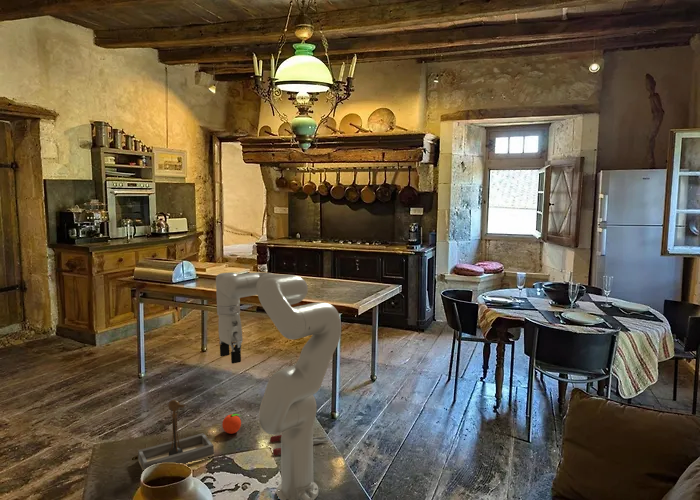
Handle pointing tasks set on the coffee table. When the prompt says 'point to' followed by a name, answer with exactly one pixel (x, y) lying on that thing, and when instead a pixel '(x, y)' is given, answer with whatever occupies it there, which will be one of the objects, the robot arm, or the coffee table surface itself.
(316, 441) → the pliers
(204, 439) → the rectangular tray
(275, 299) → the robot arm
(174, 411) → the wooden tabletop sculpture
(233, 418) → the clementine
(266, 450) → the coffee table surface
